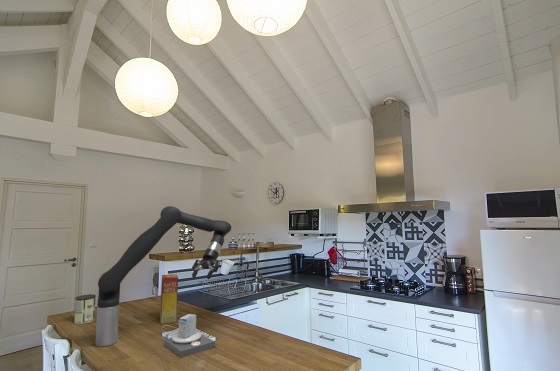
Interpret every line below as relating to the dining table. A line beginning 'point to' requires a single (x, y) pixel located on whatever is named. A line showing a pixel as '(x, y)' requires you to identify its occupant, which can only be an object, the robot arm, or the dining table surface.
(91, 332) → the dining table surface
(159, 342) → the dining table surface
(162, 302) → the food packaging
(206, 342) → the kitchen scale
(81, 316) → the coffee can
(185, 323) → the medicine box
